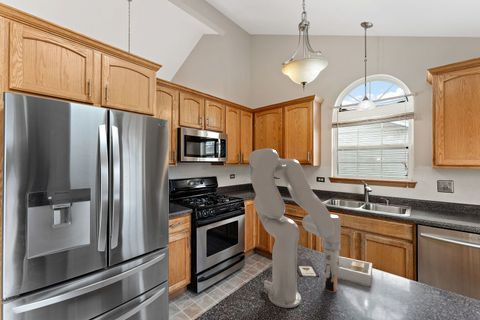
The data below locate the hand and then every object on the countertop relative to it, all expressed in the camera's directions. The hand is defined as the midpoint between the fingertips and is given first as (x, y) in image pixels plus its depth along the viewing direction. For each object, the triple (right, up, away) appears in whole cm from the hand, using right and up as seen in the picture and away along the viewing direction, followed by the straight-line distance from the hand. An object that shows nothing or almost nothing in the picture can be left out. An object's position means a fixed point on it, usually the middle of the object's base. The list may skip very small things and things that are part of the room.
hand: (330, 286), depth 96 cm
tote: (+14, -1, +12) cm, 19 cm away
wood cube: (+17, 0, +10) cm, 20 cm away
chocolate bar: (-5, -2, +19) cm, 20 cm away
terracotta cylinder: (0, -1, 0) cm, 1 cm away
